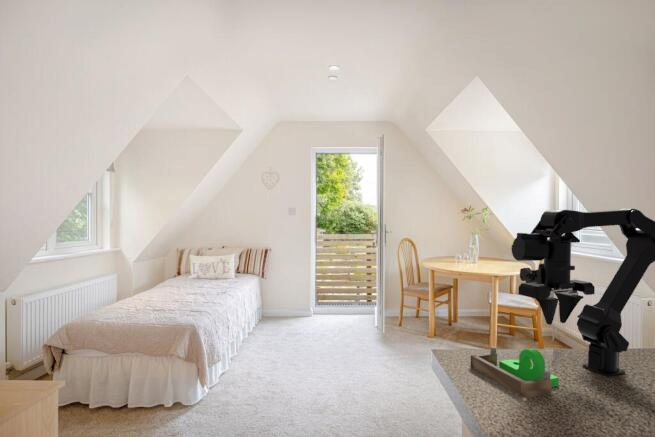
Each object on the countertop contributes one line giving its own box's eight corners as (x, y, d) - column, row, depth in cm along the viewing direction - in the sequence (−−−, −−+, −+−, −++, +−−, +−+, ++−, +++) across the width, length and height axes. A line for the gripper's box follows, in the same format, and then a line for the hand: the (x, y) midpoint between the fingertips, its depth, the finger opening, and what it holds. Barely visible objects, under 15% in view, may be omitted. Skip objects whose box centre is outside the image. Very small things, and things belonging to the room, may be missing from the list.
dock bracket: (493, 363, 101) (493, 346, 101) (551, 393, 84) (552, 373, 84) (470, 366, 99) (470, 349, 99) (525, 398, 82) (526, 377, 82)
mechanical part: (558, 386, 88) (559, 351, 88) (537, 389, 87) (538, 354, 87) (518, 366, 100) (519, 335, 100) (499, 368, 98) (499, 337, 98)
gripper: (557, 255, 106) (556, 312, 106) (502, 257, 100) (501, 317, 101) (596, 260, 96) (595, 323, 96) (538, 263, 90) (536, 330, 90)
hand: (555, 323), depth 96 cm, fingers open, 4 cm apart
